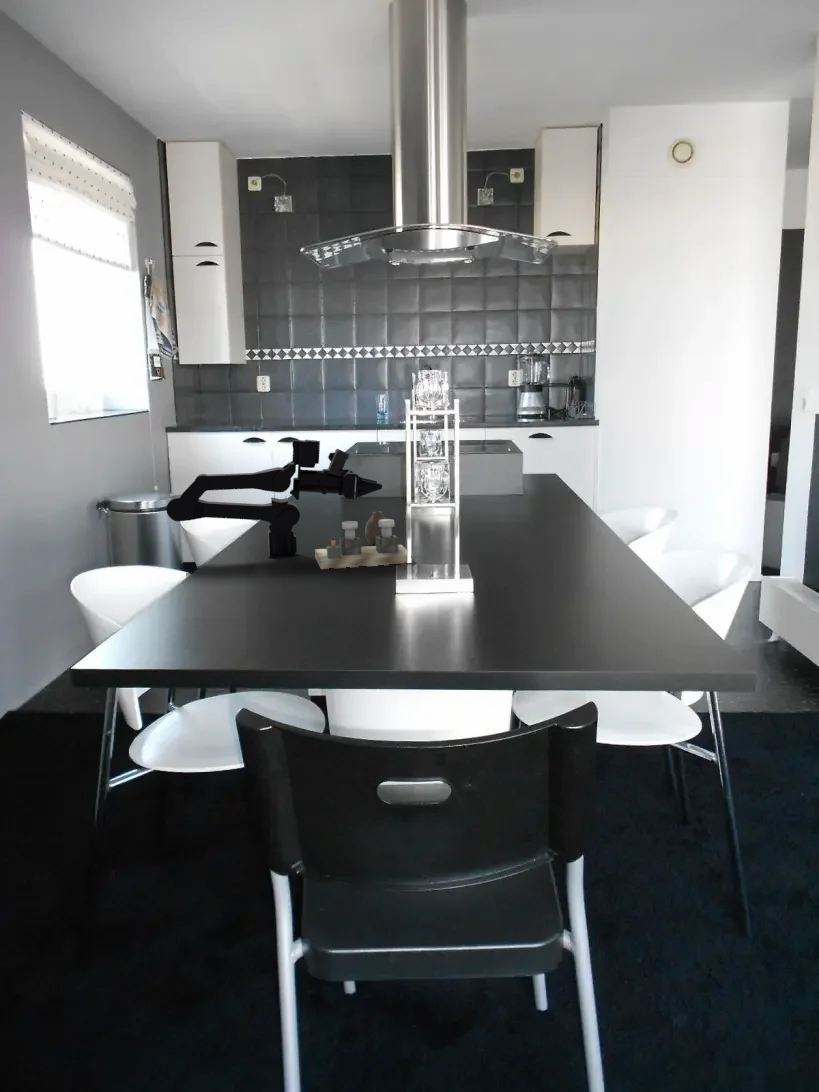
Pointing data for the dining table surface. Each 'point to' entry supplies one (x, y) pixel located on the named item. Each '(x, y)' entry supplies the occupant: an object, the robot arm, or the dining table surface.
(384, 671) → the dining table surface
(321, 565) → the mount board
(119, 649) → the dining table surface
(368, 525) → the vase
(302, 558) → the dining table surface
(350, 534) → the knob
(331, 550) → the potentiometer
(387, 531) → the knob
